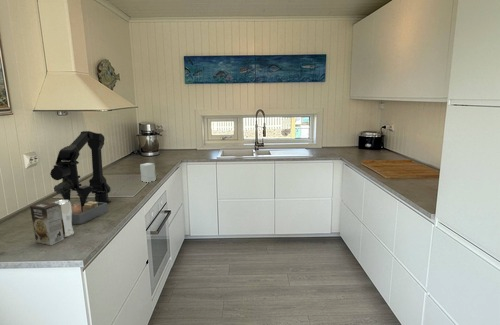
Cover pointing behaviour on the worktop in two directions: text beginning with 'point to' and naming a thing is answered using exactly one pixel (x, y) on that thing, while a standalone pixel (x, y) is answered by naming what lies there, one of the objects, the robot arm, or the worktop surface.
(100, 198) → the robot arm
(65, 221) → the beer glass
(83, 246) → the worktop surface
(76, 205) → the terracotta cylinder
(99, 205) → the tote
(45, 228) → the coffee box
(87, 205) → the beech cube
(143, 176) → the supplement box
